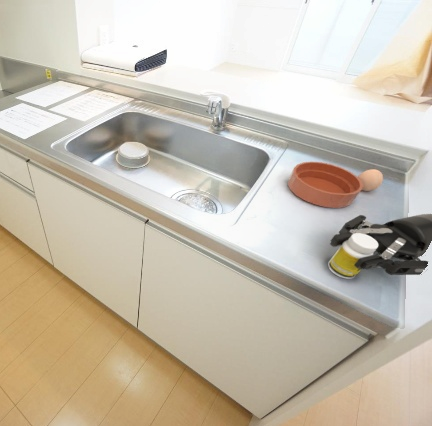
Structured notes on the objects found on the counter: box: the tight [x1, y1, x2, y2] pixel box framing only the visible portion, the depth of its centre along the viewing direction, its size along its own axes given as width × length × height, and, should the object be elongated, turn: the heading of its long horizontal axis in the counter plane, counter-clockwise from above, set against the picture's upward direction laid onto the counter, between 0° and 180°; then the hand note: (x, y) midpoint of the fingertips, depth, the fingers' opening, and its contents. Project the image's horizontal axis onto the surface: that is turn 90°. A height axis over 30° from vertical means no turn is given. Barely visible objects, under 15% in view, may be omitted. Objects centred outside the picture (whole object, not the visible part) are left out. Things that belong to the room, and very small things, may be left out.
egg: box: [357, 168, 384, 192], centre depth 73 cm, size 5×5×6 cm
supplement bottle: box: [327, 233, 378, 280], centre depth 53 cm, size 5×5×8 cm
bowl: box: [287, 161, 363, 209], centre depth 74 cm, size 15×15×4 cm
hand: (345, 252), depth 51 cm, fingers closed on supplement bottle, 4 cm apart
